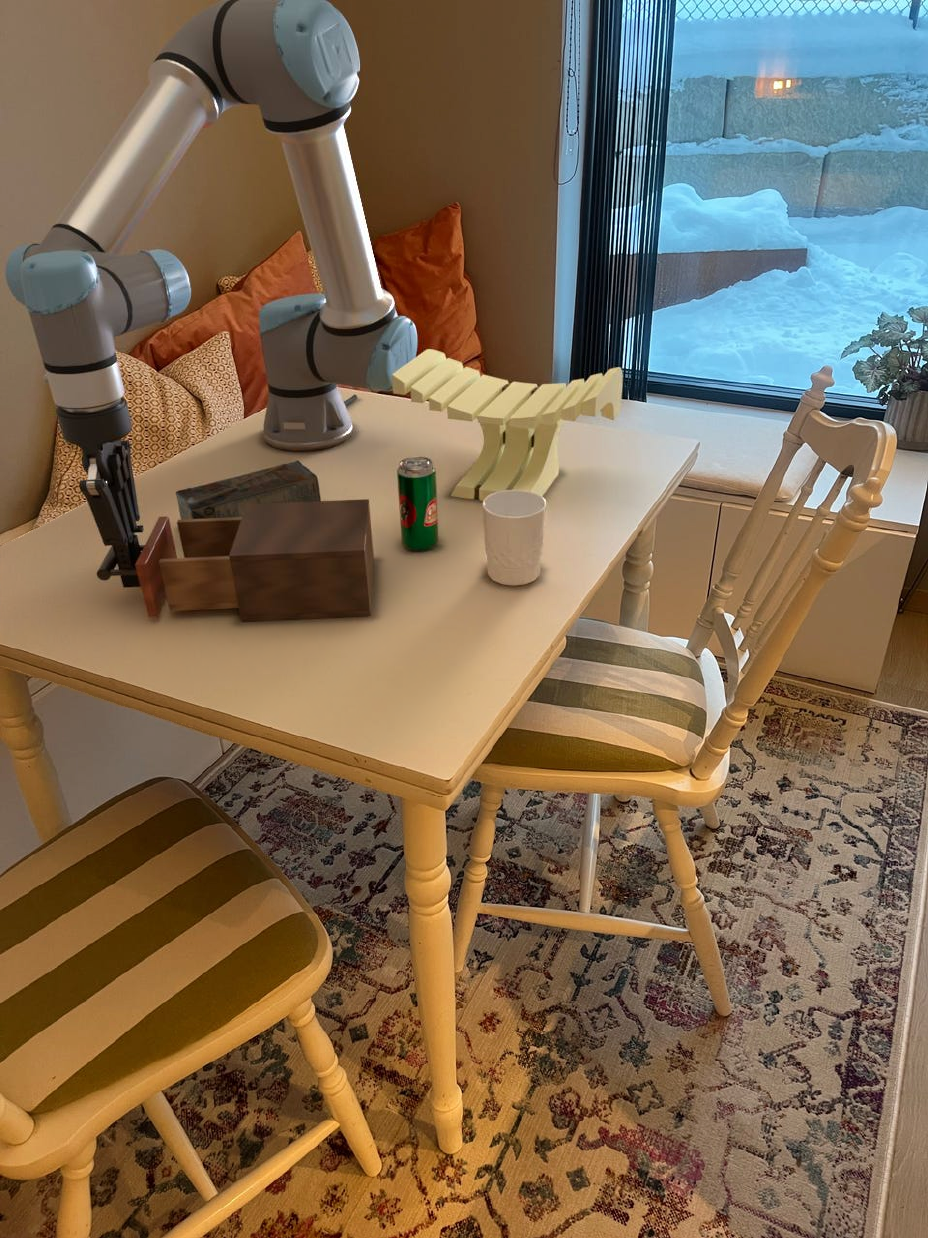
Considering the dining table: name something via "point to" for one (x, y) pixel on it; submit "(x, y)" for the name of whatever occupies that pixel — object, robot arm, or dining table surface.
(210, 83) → the robot arm
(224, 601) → the drawer
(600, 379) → the slatted curved stool
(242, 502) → the beverage carton
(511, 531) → the white cup
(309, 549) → the cabinet
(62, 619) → the dining table surface
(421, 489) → the soda can
